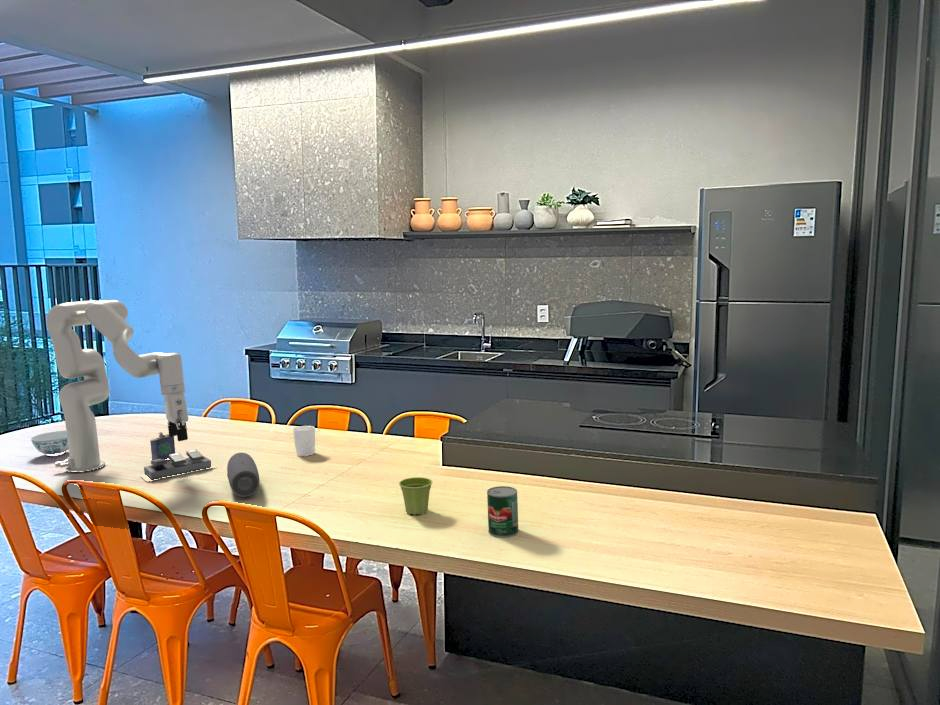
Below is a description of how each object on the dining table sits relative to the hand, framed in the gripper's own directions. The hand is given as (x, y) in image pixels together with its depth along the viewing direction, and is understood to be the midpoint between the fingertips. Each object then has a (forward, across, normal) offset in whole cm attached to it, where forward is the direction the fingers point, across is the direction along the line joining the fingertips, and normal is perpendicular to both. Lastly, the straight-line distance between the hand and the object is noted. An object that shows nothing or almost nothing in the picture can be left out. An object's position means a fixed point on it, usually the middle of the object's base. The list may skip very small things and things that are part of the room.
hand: (178, 438), depth 246 cm
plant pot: (+15, -88, -38) cm, 97 cm away
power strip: (+12, +3, 0) cm, 13 cm away
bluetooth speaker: (+14, -33, -9) cm, 37 cm away
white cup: (+14, -9, -42) cm, 45 cm away
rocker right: (+8, +3, -6) cm, 11 cm away
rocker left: (+8, +3, +6) cm, 11 cm away
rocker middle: (+8, +3, 0) cm, 9 cm away
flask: (+12, +22, 0) cm, 25 cm away
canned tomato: (+16, -116, -46) cm, 126 cm away
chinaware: (+11, +63, +29) cm, 70 cm away
